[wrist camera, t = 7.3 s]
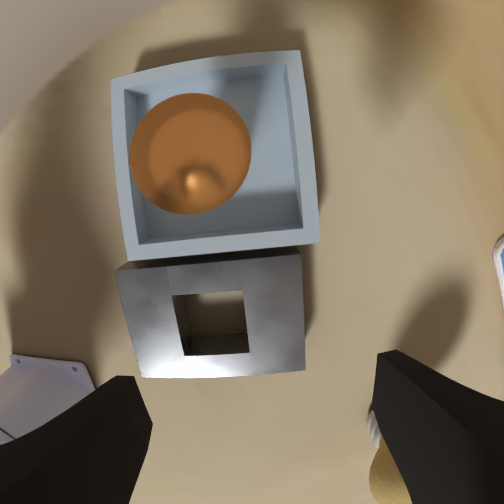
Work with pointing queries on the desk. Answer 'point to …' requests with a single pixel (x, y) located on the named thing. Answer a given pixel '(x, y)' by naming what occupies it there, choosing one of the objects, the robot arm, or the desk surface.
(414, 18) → the desk surface
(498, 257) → the tablet computer
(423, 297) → the desk surface
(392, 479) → the light bulb
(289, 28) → the desk surface
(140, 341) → the block
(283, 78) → the tray
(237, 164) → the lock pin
